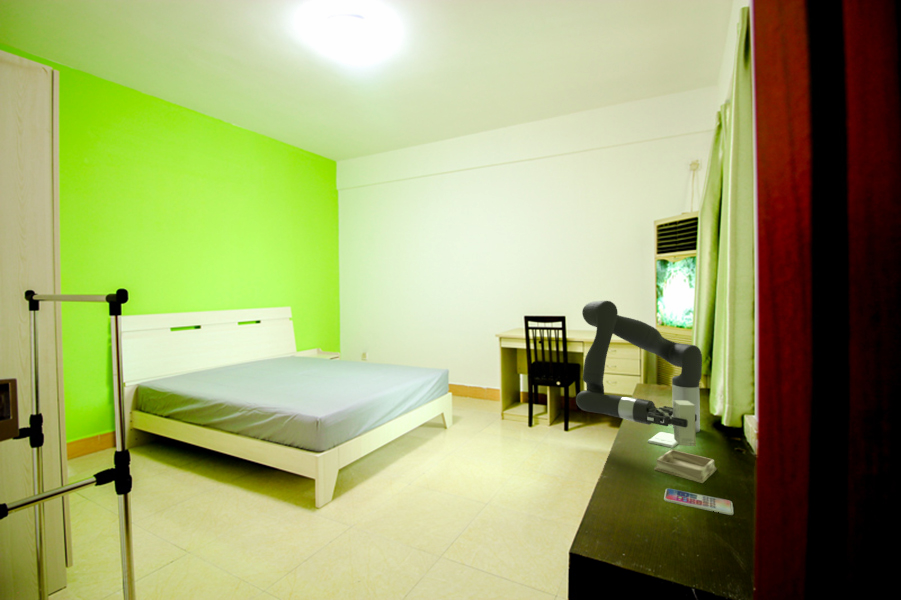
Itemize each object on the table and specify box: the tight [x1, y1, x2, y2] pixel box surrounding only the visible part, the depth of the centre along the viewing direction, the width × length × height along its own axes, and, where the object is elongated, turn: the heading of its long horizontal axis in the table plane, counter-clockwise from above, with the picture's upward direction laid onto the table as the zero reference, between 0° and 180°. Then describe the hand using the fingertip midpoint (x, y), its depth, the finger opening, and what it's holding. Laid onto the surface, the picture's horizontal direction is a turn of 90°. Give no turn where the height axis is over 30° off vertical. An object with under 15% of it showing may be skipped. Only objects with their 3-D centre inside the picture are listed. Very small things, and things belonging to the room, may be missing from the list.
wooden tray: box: [653, 449, 718, 484], centre depth 127 cm, size 13×13×3 cm
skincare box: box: [672, 399, 697, 447], centre depth 127 cm, size 6×4×12 cm
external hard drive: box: [647, 431, 679, 449], centre depth 152 cm, size 2×8×12 cm
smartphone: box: [663, 488, 734, 516], centre depth 107 cm, size 7×1×15 cm
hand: (691, 420), depth 125 cm, fingers closed on skincare box, 7 cm apart
